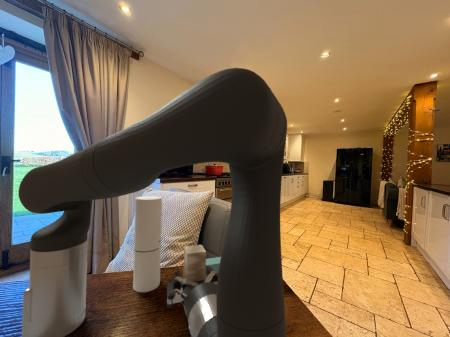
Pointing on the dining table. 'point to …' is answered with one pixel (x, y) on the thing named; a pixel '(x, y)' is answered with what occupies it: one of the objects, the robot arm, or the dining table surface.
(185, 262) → the ash post
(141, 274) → the cylindrical container
